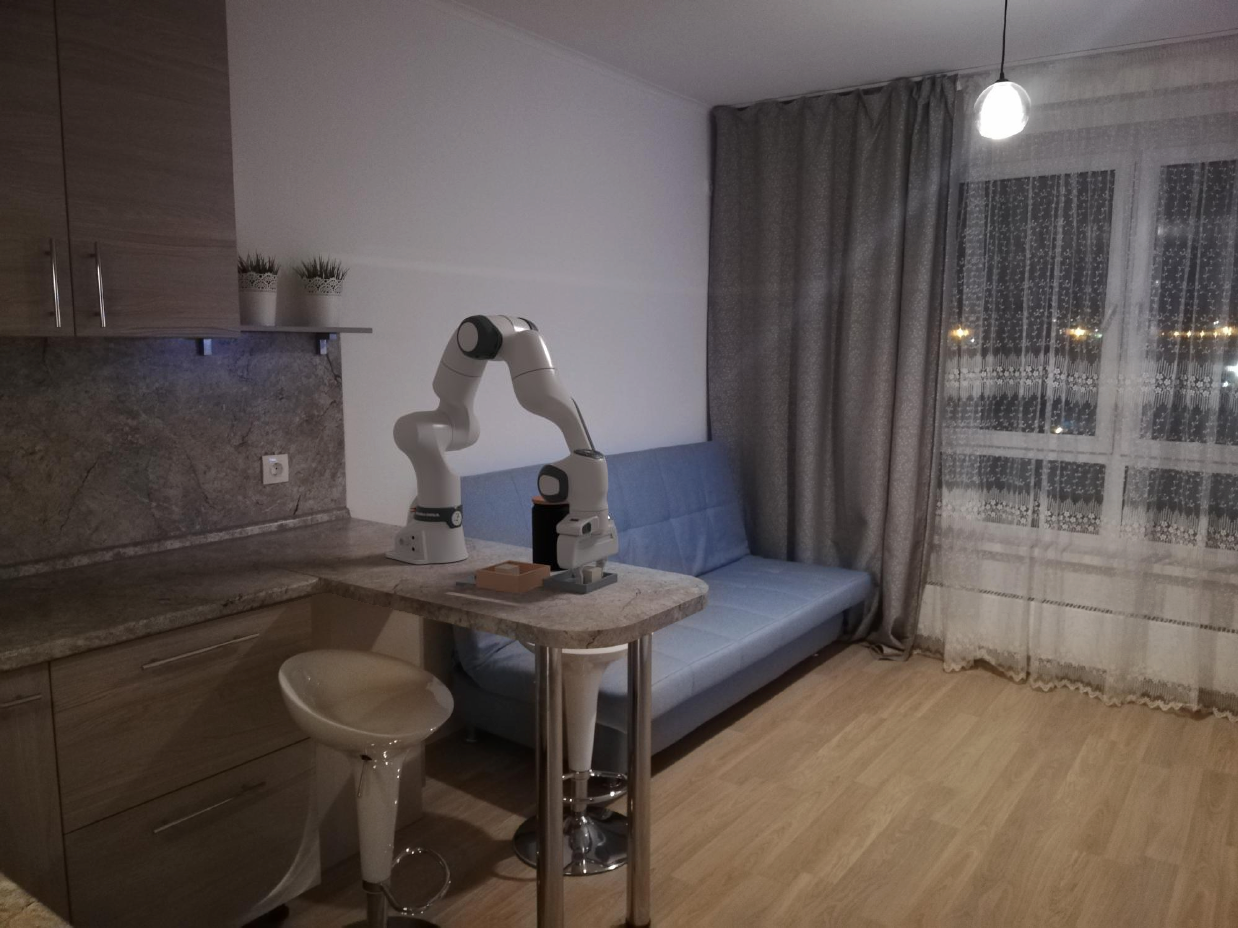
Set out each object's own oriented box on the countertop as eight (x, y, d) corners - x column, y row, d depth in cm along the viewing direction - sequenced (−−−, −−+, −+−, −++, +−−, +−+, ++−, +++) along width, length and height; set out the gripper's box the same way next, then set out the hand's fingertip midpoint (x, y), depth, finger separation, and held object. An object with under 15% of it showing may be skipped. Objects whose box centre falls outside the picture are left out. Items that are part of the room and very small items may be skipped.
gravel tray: (542, 589, 209) (542, 578, 209) (574, 577, 220) (574, 567, 220) (586, 596, 203) (586, 585, 202) (617, 584, 214) (617, 573, 213)
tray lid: (455, 585, 213) (455, 578, 213) (479, 575, 222) (478, 569, 222) (481, 587, 211) (481, 581, 210) (504, 578, 220) (503, 571, 219)
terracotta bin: (476, 589, 209) (476, 569, 209) (509, 578, 219) (509, 560, 219) (518, 596, 203) (518, 576, 203) (550, 584, 213) (550, 565, 213)
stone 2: (577, 586, 209) (577, 569, 209) (587, 582, 213) (586, 565, 212) (592, 588, 207) (591, 571, 207) (601, 584, 211) (601, 567, 210)
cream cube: (494, 584, 212) (494, 567, 211) (505, 580, 215) (505, 563, 215) (508, 586, 210) (508, 569, 209) (519, 582, 213) (519, 565, 212)
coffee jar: (569, 574, 224) (568, 501, 222) (527, 572, 226) (526, 500, 224) (580, 565, 234) (579, 495, 232) (539, 563, 236) (538, 493, 234)
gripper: (602, 513, 219) (602, 570, 220) (551, 526, 201) (552, 588, 203) (624, 515, 215) (624, 573, 217) (575, 529, 198) (576, 592, 200)
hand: (589, 581), depth 210 cm, fingers open, 6 cm apart
